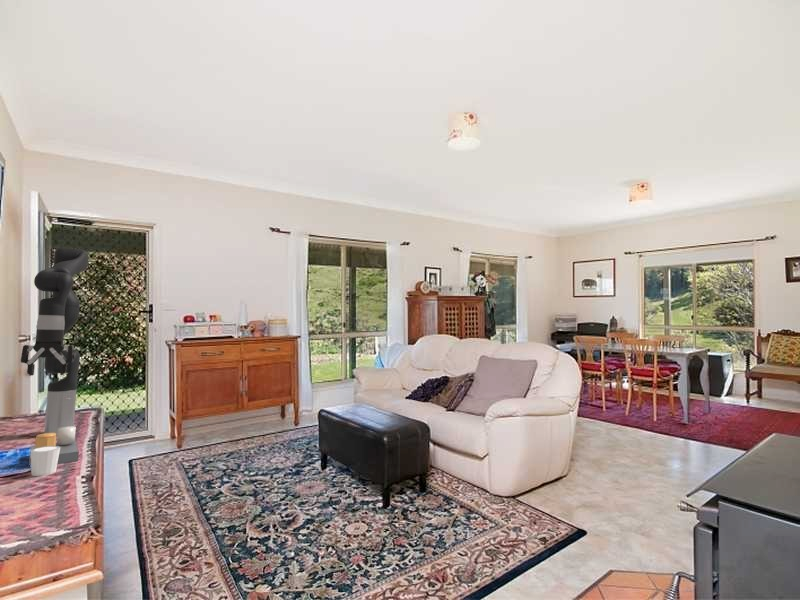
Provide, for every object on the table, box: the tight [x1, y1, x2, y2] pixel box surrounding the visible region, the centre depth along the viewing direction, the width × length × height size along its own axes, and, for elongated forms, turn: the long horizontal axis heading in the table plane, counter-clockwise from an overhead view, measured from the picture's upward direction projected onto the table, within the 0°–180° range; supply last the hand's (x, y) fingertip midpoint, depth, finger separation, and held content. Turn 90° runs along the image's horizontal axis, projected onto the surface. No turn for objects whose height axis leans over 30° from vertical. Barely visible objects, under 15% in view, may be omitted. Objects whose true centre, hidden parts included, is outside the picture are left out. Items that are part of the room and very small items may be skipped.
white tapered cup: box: [30, 446, 60, 477], centre depth 126 cm, size 7×7×7 cm
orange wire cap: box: [34, 432, 57, 449], centre depth 135 cm, size 5×5×5 cm
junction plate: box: [28, 425, 80, 466], centre depth 139 cm, size 16×12×9 cm
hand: (46, 375), depth 148 cm, fingers open, 8 cm apart
